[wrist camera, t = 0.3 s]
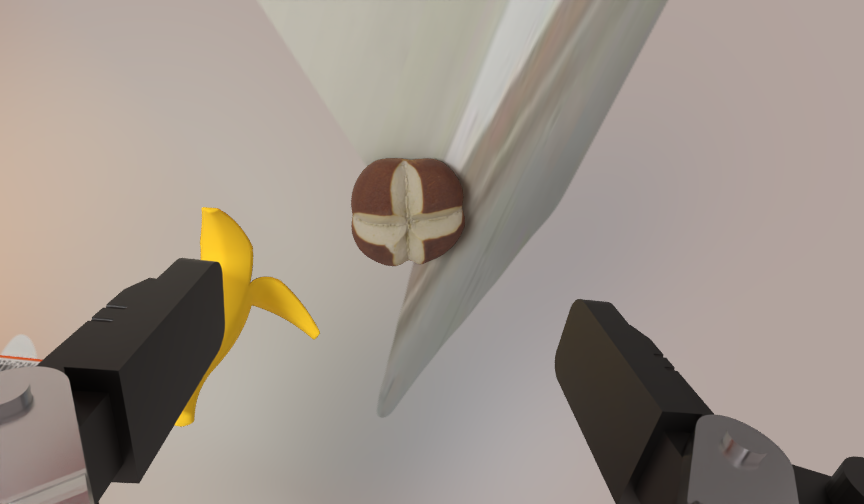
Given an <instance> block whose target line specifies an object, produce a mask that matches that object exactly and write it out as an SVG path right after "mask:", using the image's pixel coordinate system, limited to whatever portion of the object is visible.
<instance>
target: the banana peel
mask: <svg viewBox="0 0 864 504" xmlns="http://www.w3.org/2000/svg"><path fill="white" fill-rule="evenodd" d="M200 250H201V260H206V261H216V262H219V263H220V265H221V267H222V273H223V291H224V310H225V332H224V337H223V341H222V345H221V347H220V350H219V352H218V353H217V355H216V357H215V358H214V360H213V362H212V363H211V365H210V367H209V368H208V370H207V372H206V373H205V375H204V377H203V378H202V380H201V382H200V383H199V385H198V387H197V388H196V390H195V392H194V393H193V395H192V397H191V398H190V400H189V402H188V403H187V405H186V406H185V408H184V410H183V411H182V413H181V415H180V416H179V418H178V420H177V421H176V423H175V426H180V427H182V426H186V425H189V424H191V423H193V422H194V415H195V407H196V402H197V398H198V395H199V392H200V390H201V388H202V386H203V383H204V382H205V380H206V379H207V377H208V376H209V375H210V373H211V372H212V371H213V370H214V369H215V368H216V366H217V365H218V364H219V363H220V362H221V361H222V359H223V358H224V357H225V356H226V354H227V353H228V352H229V350H230V349H231V348H232V346H233V345H234V343H235V341H236V340H237V338H238V337H239V335H240V333H241V331H242V329H243V327H244V325H245V323H246V320H247V318H248V315H249V312H250V309H251V306H252V305H253V306H256V307H259V308H262V309H265V310H267V311H270V312H272V313H274V314H276V315H278V316H280V317H282V318H284V319H286V320H287V321H289V322H291V323H292V324H294V325H295V326H297V327H298V328H300V329H301V330H302V331H304V332H305V333H306V334H307V335H309V336H310V337H311V338H312V339H316V338H317V337H318V335H319V334H320V331H319V329H318V328H317V326H316V324H315V322H314V320H313V319H312V317H311V316H310V314H309V313H308V311H307V310H306V308H305V307H304V306H303V304H302V303H301V302H300V300H299V299H298V298H297V297H296V296H295V294H293V292H292V291H291V290H290V289H289V288H288V287H287V286H286V285H285V284H284V283H283V282H282V281H280V280H279V279H276V278H273V277H260V278H256V279H255V280H253V281H252V282H251V283H250V281H251V275H252V268H253V267H252V266H253V246H252V244H251V242H250V240H249V239H248V237H247V236H246V234H245V233H244V231H243V230H242V229H241V227H240V226H239V225H238V224H237V223H236V222H235V221H234V220H233V219H232V218H231V217H230V216H229V215H227V214H226V213H225V212H223V211H221V210H220V209H218V208H207V207H206V208H205V207H203V208H202V228H201V237H200Z"/></svg>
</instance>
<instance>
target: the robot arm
mask: <svg viewBox="0 0 864 504" xmlns="http://www.w3.org/2000/svg"><path fill="white" fill-rule="evenodd" d="M224 332H225V310H224V291H223V273H222V267H221V265H220V263H219V262H216V261H206V260H195V259H186V258H179V259H178V260H176V261H175V262H174V263H173V264H172V265H171V266H170V267H169V268H168V269H167V270H166V271H165V272H164V273H163V274H161V275H160V276H159V277H158V278H157V279H154V278H148V279H146V280H144V281H142V282H140V283H137V284H135V285H133V286H131V287H128V288H126V289H124V290H123V291H122V292H121V293H119V294H118V295H117V296H116V297H115V298H114V299H113V300H111V301H110V302H109V303H108V304H107V306H106V308H102V309H101V310H100V311H99V312H98V313H96V314H95V315H94V316H93V317H92V320H91V321H87V322H86V323H85V324H84V325H83V326H81V327H80V328H79V329H78V330H77V331H76V332H74V333H73V334H72V335H71V336H70V337H69V338H68V339H66V340H65V341H64V342H63V343H62V344H61V345H59V346H58V347H57V348H56V349H55V350H54V351H53V352H51V353H50V354H49V355H48V356H47V357H46V358H45V359H44V360H42V361H41V362H40V363H39V364H38V365H36V366H33V367H21V368H14V369H9V370H4V371H0V504H99V500H100V498H101V497H102V495H103V494H104V492H105V491H106V489H107V488H108V486H109V485H110V483H111V482H120V483H140V481H141V479H142V478H143V476H144V474H145V473H146V471H147V469H148V468H149V466H150V464H151V463H152V461H153V459H154V458H155V456H156V454H157V453H158V451H159V449H160V448H161V446H162V444H163V443H164V441H165V440H166V438H167V436H168V434H169V433H170V431H171V430H172V428H173V426H174V425H175V423H176V421H177V420H178V418H179V416H180V415H181V413H182V411H183V410H184V408H185V406H186V405H187V403H188V402H189V400H190V398H191V397H192V395H193V393H194V392H195V390H196V388H197V387H198V385H199V383H200V382H201V380H202V378H203V377H204V375H205V373H206V372H207V370H208V368H209V367H210V365H211V363H212V362H213V360H214V358H215V357H216V355H217V353H218V352H219V350H220V347H221V345H222V341H223V337H224ZM555 372H556V377H557V380H558V382H559V384H560V386H561V388H562V390H563V392H564V395H565V397H566V399H567V401H568V403H569V405H570V407H571V410H572V411H573V414H574V416H575V418H576V420H577V422H578V424H579V427H580V428H581V431H582V433H583V435H584V437H585V439H586V441H587V444H588V446H589V448H590V450H591V452H592V454H593V456H594V458H595V461H596V463H597V465H598V467H599V469H600V471H601V473H602V476H603V478H604V480H605V482H606V484H607V486H608V488H609V490H610V493H611V495H612V497H613V499H614V501H615V503H616V504H864V458H863V457H849V458H846V459H845V460H844V461H843V463H842V464H841V465H840V466H839V468H838V469H837V471H836V472H835V473H834V474H833V476H832V477H831V476H828V475H825V474H821V473H818V472H815V471H812V470H808V469H805V468H802V467H798V466H795V465H792V464H791V462H790V460H789V459H788V457H787V456H786V455H785V453H784V452H783V451H782V450H781V449H780V448H779V447H778V446H777V445H776V444H775V443H774V442H773V441H771V440H770V439H769V438H768V437H766V436H765V435H764V434H762V433H761V432H759V431H758V430H756V429H754V428H752V427H751V426H749V425H747V424H745V423H743V422H740V421H738V420H736V419H733V418H730V417H726V416H722V415H714V413H713V412H712V411H711V410H710V409H709V408H708V406H707V405H706V404H705V403H704V402H703V400H702V399H701V398H700V397H699V396H698V395H697V393H696V392H695V391H694V390H693V389H692V388H691V386H690V385H689V384H688V383H687V382H686V381H685V379H684V378H683V377H682V376H681V375H680V374H679V372H678V371H675V370H674V366H673V365H672V364H671V363H670V362H669V361H668V359H667V358H663V354H662V352H661V351H660V350H659V349H658V348H657V347H656V345H655V344H654V343H653V342H652V341H651V340H650V339H649V338H648V337H647V336H645V335H644V334H642V333H641V332H639V331H638V330H637V329H635V328H634V327H632V326H631V325H629V324H628V323H627V321H626V320H625V319H624V318H623V317H622V315H621V314H620V313H619V312H618V311H617V309H616V308H615V307H614V306H613V305H612V304H611V303H609V302H602V301H592V300H582V299H577V300H576V301H575V302H574V303H573V304H572V307H571V309H570V312H569V315H568V318H567V321H566V324H565V327H564V330H563V333H562V336H561V339H560V342H559V345H558V349H557V351H556V356H555Z"/></svg>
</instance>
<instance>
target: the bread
mask: <svg viewBox="0 0 864 504" xmlns="http://www.w3.org/2000/svg"><path fill="white" fill-rule="evenodd" d="M462 203H463V190H462V187H461V184H460V182H459V180H458V178H457V177H456V175H455V174H454V172H453V171H452V170H451V169H450V168H449V167H448V166H447V165H445V164H444V163H442V162H441V161H438V160H435V159H414V160H408V159H398V158H386V159H381V160H377V161H375V162H373V163H371V164H370V165H368V166H367V167H366V168H365V169H364V170H363V171H362V173H361V174H360V176H359V177H358V179H357V181H356V183H355V185H354V189H353V192H352V200H351V207H352V213H353V218H352V234H353V237H354V240H355V242H356V244H357V246H358V247H359V249H360V250H361V251H362V252H363V253H364V254H365V255H366V256H367V257H369V258H371V259H372V260H374V261H376V262H378V263H381V264H384V265H388V266H398V265H401V264H403V263H404V262H405V261H408V260H410V261H414V262H415V263H418V264H424V263H426V262H428V261H431V260H433V259H435V258H438V257H439V256H441V255H443V254H444V253H445V252H447V251H448V250H449V249H450V248H451V247H452V246H453V245H454V244H455V243H456V241H457V240H458V239H459V237H460V235H461V234H462V231H463V229H464V226H465V217H464V213H463V210H462Z"/></svg>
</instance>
